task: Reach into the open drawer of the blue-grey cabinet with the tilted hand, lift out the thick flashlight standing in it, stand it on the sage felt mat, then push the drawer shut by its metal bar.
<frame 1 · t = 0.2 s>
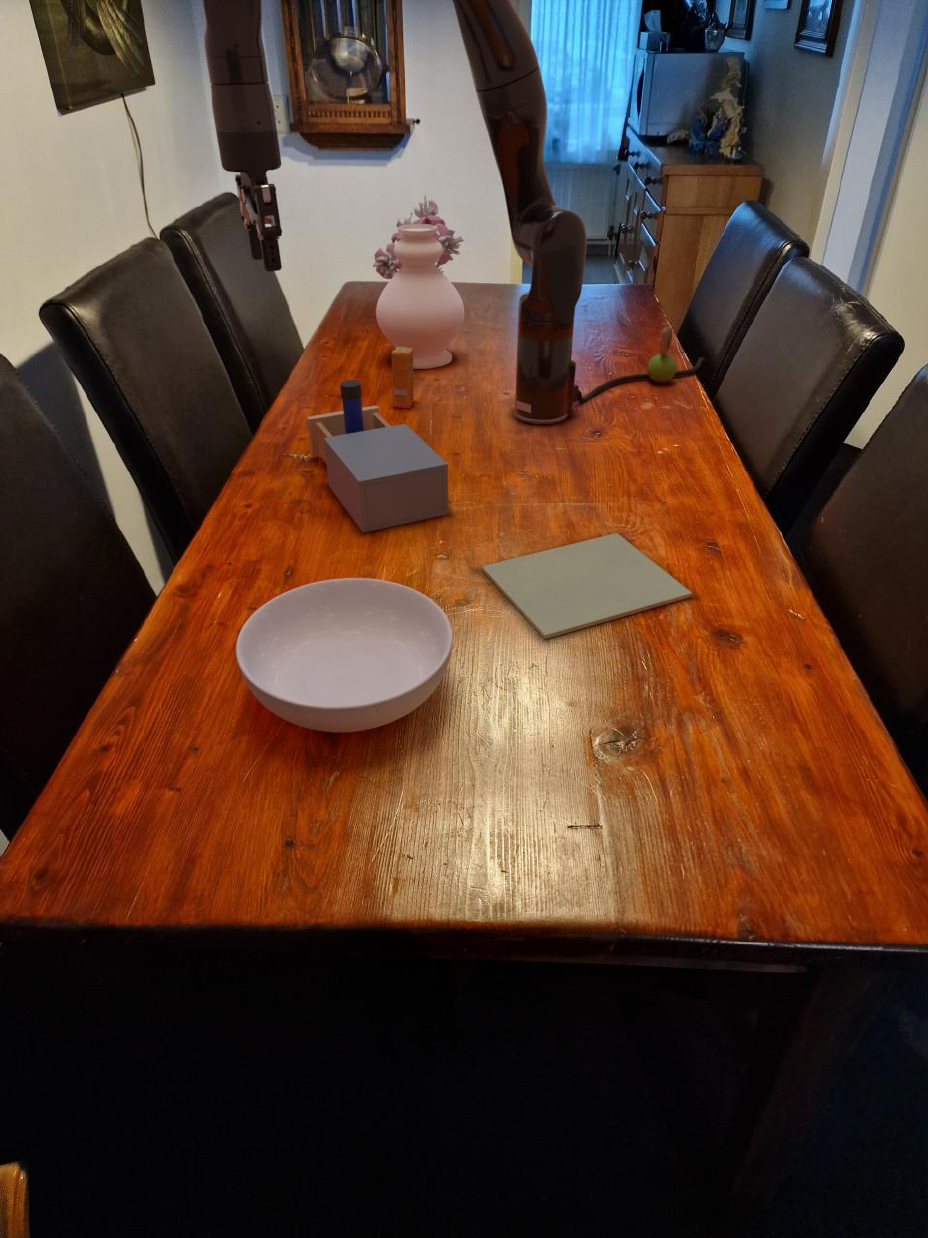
hand: (266, 264, 112), 29 cm above the table, tool pointing down, fingers open, 8 cm apart
flashlight: (356, 453, 126), point 2 cm above the table, touching drawer
green ball with stem: (659, 383, 158), on the table
mat: (583, 583, 99), on the table
flower: (417, 315, 197), on the table
serving bowl: (351, 690, 83), on the table
drawer: (353, 440, 125), point 4 cm above the table, slide at 10.0 cm, touching flashlight
supplement box: (404, 406, 148), on the table
cabinet: (386, 499, 117), on the table
decorative vase: (421, 359, 170), on the table
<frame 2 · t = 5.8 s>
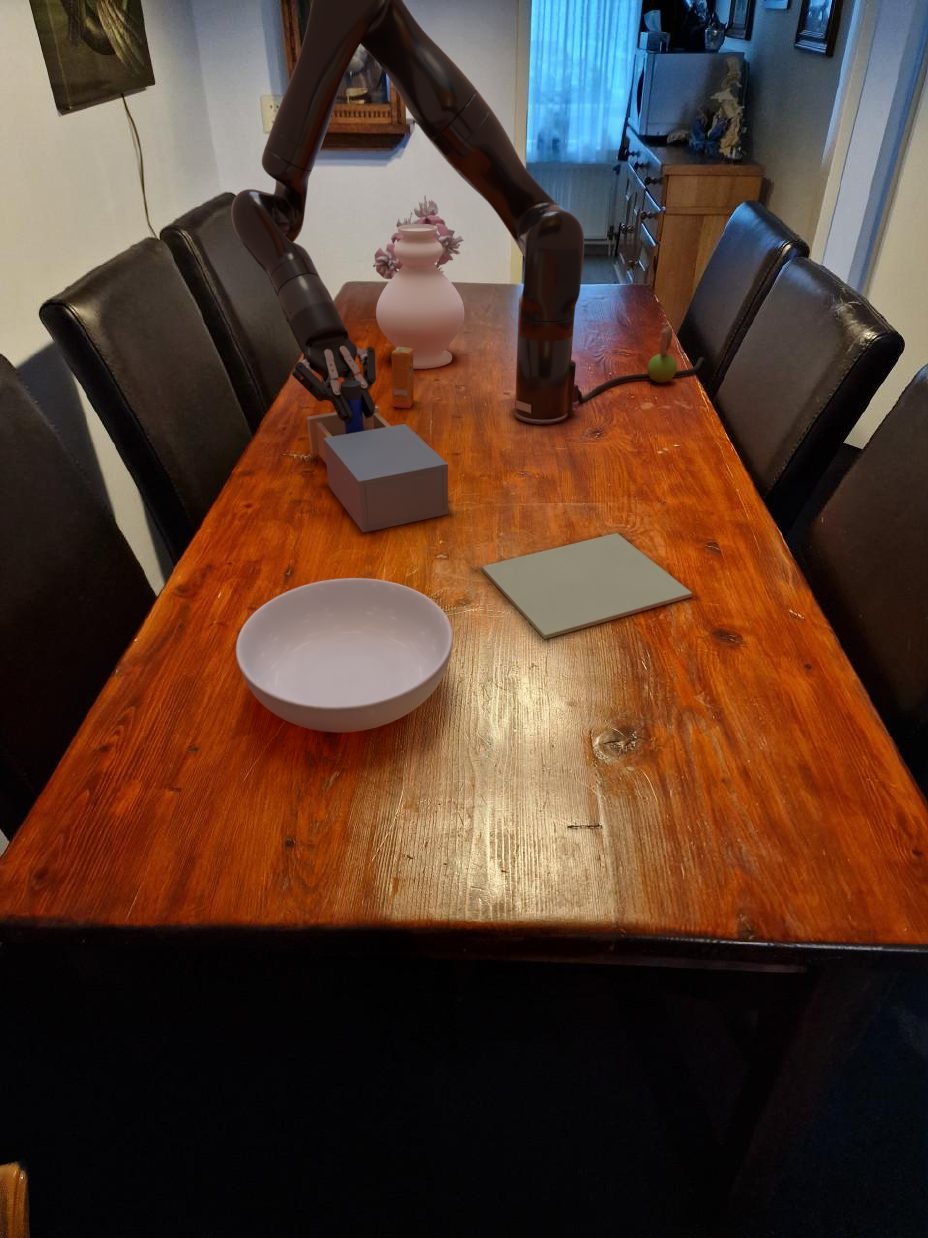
hand: (360, 417, 121), 8 cm above the table, tool tilted 45°, fingers closed on flashlight, 3 cm apart
flashlight: (356, 453, 126), point 2 cm above the table, touching drawer, gripper
everything else where it was.
when the fingers open (7 cm above the table, at t = 18.6 s): flashlight stays where it is, resting on mat.
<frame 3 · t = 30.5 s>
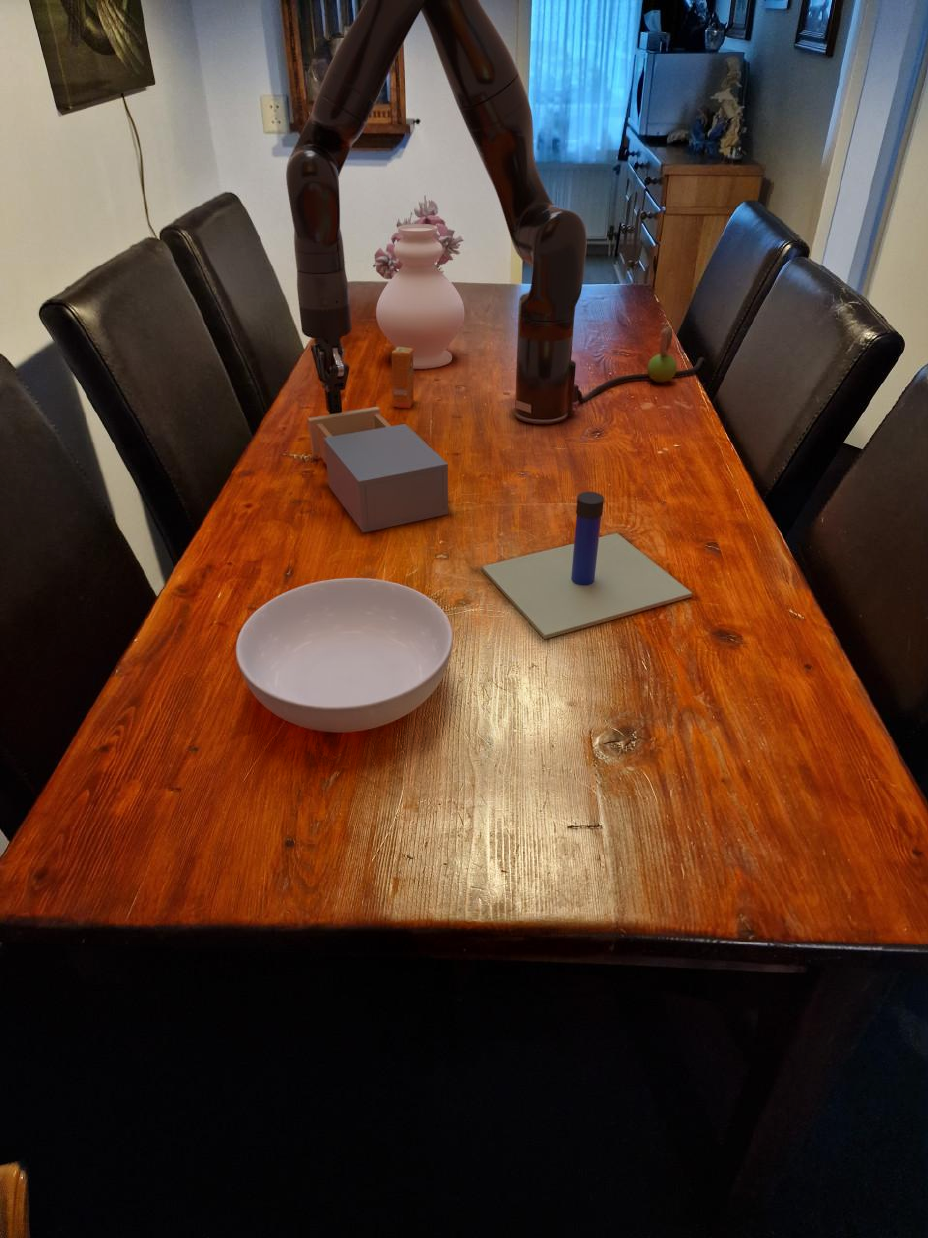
hand: (334, 412, 132), 5 cm above the table, tool pointing down, fingers closed
flashlight: (582, 579, 99), point 1 cm above the table, touching mat
drawer: (355, 441, 125), point 4 cm above the table, slide at 9.4 cm, touching gripper
everything else where it was.
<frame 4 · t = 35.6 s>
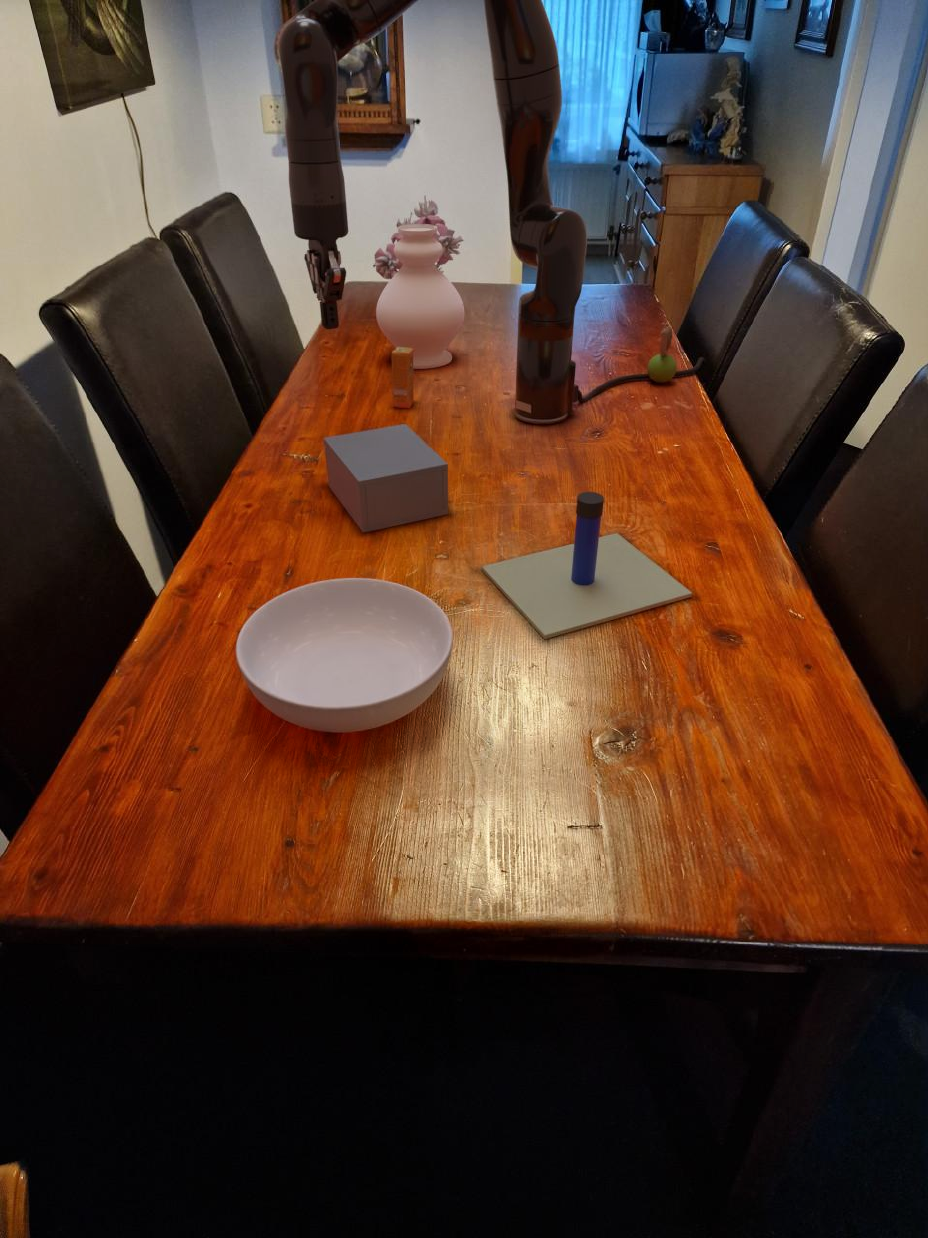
hand: (330, 327, 122), 19 cm above the table, tool pointing down, fingers closed
drawer: (376, 465, 118), point 4 cm above the table, slide at 0.0 cm
everything else where it was.
at the end: flashlight inside the target area on the mat (0.2 cm from its centre), point 0.6 cm above the mat's base; flashlight tilted 0°; drawer slide at 0.0 cm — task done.
